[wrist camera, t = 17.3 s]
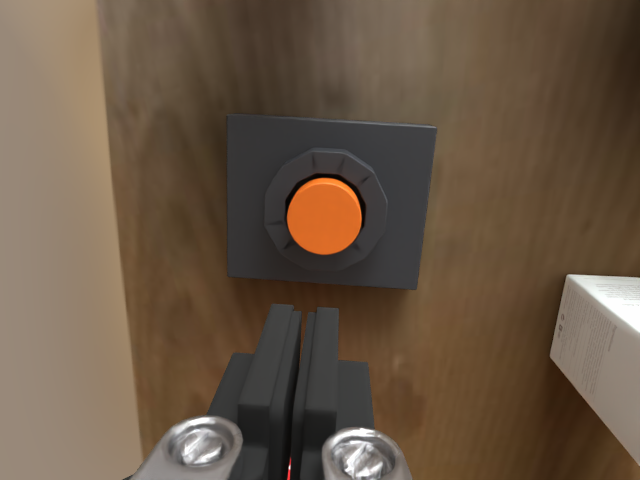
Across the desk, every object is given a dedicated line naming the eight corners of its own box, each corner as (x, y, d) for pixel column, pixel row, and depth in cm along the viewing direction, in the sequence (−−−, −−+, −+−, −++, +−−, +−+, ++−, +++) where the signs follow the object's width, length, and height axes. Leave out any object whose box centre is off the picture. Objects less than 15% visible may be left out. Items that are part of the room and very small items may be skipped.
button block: (234, 265, 31) (219, 288, 28) (234, 113, 28) (218, 115, 25) (411, 277, 31) (421, 302, 27) (430, 124, 28) (444, 128, 24)
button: (289, 243, 27) (285, 252, 25) (291, 175, 26) (288, 180, 24) (357, 247, 27) (358, 257, 25) (363, 179, 26) (364, 185, 24)
